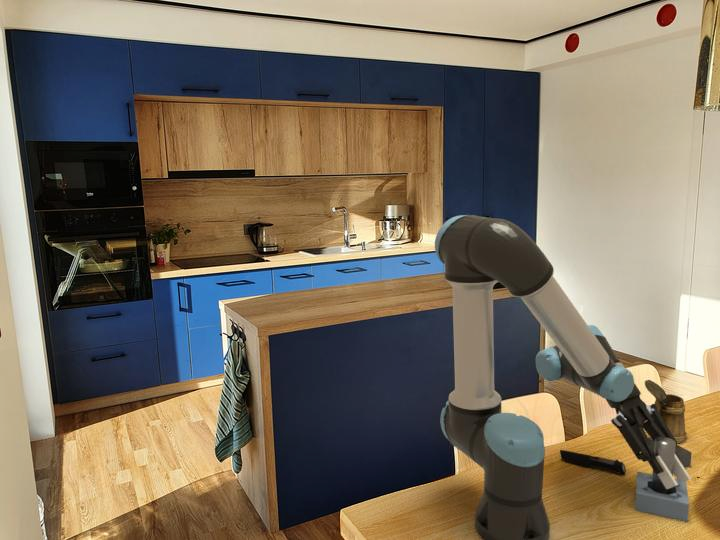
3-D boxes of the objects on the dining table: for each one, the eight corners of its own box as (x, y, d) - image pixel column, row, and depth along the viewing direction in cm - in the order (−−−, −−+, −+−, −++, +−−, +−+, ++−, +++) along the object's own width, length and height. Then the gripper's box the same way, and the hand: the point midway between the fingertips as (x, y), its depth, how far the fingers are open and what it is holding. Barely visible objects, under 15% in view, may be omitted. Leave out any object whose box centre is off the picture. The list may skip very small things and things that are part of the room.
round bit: (651, 493, 126) (655, 443, 124) (651, 484, 130) (654, 435, 127) (671, 498, 124) (676, 446, 122) (671, 488, 128) (675, 438, 126)
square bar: (645, 451, 151) (647, 437, 150) (657, 449, 152) (658, 435, 151) (678, 470, 142) (679, 455, 141) (690, 467, 143) (691, 452, 142)
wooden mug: (630, 435, 159) (635, 374, 156) (665, 426, 164) (670, 367, 161) (658, 450, 151) (663, 385, 148) (694, 439, 156) (699, 377, 153)
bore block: (635, 510, 125) (636, 493, 125) (636, 487, 134) (637, 471, 133) (687, 521, 121) (688, 504, 120) (684, 497, 130) (686, 481, 129)
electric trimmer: (561, 457, 150) (561, 445, 149) (626, 470, 142) (626, 458, 141) (558, 463, 146) (558, 452, 146) (624, 477, 139) (625, 465, 138)
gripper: (629, 386, 141) (690, 479, 130) (582, 400, 133) (641, 500, 122) (651, 372, 136) (715, 467, 124) (602, 386, 128) (666, 489, 116)
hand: (679, 483), depth 123 cm, fingers closed on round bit, 4 cm apart
